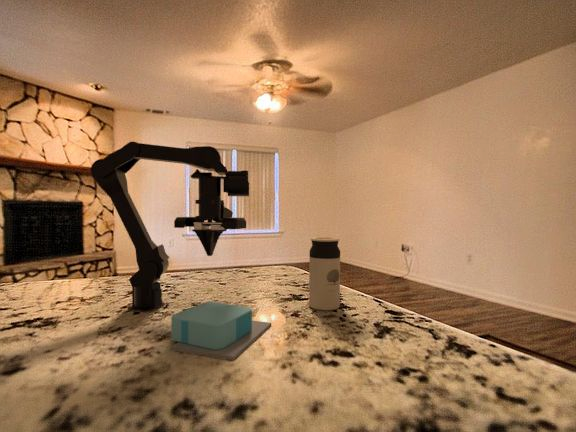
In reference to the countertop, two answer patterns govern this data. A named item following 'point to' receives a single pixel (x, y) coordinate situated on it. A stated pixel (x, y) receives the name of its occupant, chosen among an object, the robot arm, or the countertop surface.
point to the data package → (211, 325)
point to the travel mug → (324, 274)
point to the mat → (230, 350)
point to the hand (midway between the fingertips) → (209, 255)
